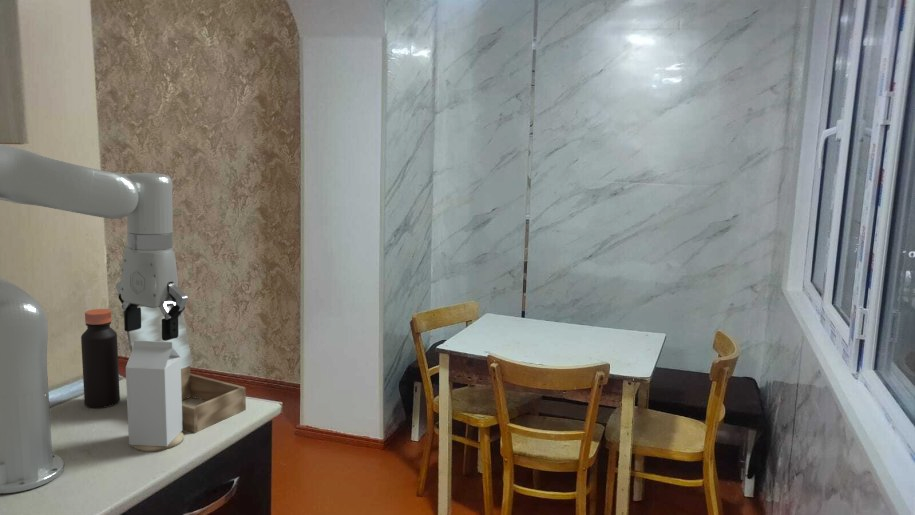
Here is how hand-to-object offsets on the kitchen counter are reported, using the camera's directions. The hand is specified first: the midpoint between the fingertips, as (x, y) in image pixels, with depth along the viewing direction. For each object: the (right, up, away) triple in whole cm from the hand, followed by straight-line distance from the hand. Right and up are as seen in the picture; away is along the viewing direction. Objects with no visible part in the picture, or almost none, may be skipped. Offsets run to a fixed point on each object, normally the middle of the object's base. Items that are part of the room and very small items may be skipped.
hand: (151, 334), depth 128 cm
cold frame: (0, -18, +18) cm, 26 cm away
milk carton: (-1, -20, +4) cm, 21 cm away
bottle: (-20, -17, +21) cm, 33 cm away
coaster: (0, -21, +4) cm, 21 cm away
